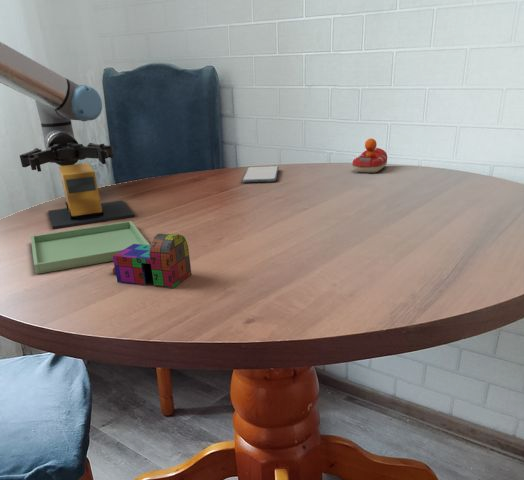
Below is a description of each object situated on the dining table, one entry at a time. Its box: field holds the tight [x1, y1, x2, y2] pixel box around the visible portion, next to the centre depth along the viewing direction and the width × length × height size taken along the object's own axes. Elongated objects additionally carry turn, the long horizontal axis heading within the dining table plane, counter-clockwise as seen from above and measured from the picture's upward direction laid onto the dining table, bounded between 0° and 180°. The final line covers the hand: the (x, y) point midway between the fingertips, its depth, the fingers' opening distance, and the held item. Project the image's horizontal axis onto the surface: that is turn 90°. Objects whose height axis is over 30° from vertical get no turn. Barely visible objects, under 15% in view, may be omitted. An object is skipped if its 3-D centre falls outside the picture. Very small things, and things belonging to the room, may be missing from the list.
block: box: [112, 232, 192, 289], centre depth 79 cm, size 12×8×7 cm
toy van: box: [58, 162, 104, 219], centre depth 111 cm, size 7×11×9 cm, turn 23°
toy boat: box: [351, 138, 388, 174], centre depth 139 cm, size 8×12×8 cm, turn 155°
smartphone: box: [242, 165, 279, 183], centre depth 139 cm, size 8×1×15 cm
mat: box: [48, 200, 135, 230], centre depth 114 cm, size 16×14×1 cm
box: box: [30, 220, 151, 275], centre depth 93 cm, size 18×17×2 cm
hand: (71, 161), depth 116 cm, fingers open, 13 cm apart
